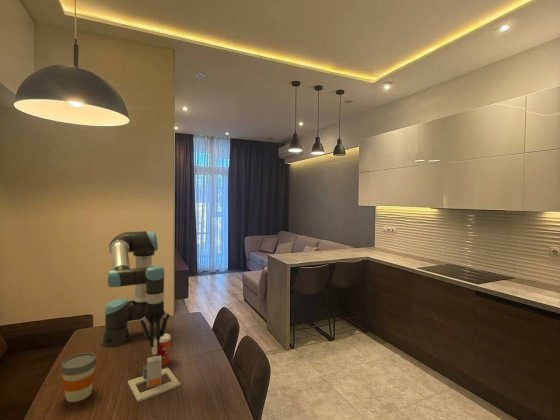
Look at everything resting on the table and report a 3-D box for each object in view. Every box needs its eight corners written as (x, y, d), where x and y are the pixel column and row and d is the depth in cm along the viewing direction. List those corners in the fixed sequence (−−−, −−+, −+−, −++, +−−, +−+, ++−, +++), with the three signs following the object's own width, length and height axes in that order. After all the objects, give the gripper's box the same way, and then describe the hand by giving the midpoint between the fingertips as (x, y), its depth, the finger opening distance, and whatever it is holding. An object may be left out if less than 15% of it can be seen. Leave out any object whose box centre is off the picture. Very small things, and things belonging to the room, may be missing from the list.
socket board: (127, 383, 135) (127, 371, 135) (167, 369, 147) (167, 358, 146) (137, 402, 123) (137, 389, 123) (180, 385, 134) (180, 373, 134)
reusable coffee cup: (91, 402, 122) (91, 366, 122) (55, 407, 119) (55, 370, 118) (100, 383, 134) (100, 351, 134) (67, 388, 131) (67, 354, 130)
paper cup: (165, 368, 147) (165, 340, 147) (151, 366, 149) (151, 338, 148) (173, 360, 155) (174, 333, 154) (160, 358, 157) (160, 332, 156)
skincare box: (146, 388, 131) (147, 362, 131) (146, 383, 135) (146, 357, 135) (161, 385, 134) (161, 359, 134) (160, 380, 138) (161, 354, 137)
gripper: (141, 307, 126) (141, 361, 127) (172, 300, 135) (171, 351, 135) (136, 302, 132) (136, 354, 133) (166, 296, 140) (166, 345, 141)
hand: (154, 353), depth 134 cm, fingers closed
